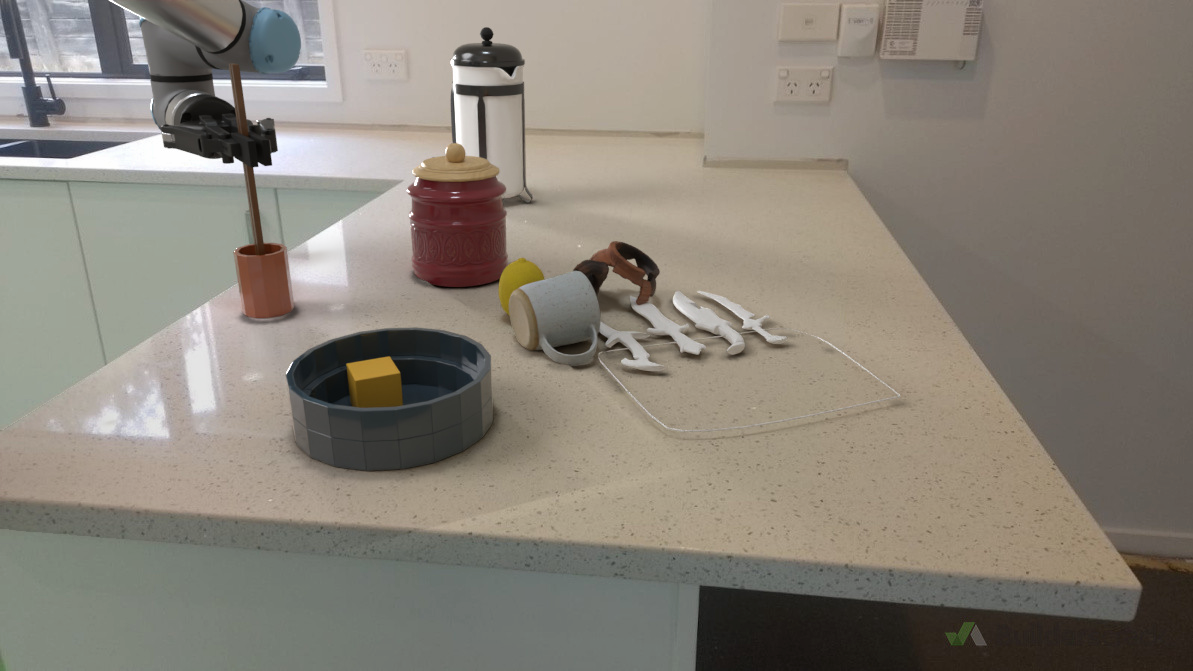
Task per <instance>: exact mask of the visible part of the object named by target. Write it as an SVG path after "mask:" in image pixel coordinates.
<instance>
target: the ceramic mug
mask: <svg viewBox="0 0 1193 671" xmlns="http://www.w3.org/2000/svg"><path fill="white" fill-rule="evenodd" d="M508 316H509V321H510V326H511V328H512V332H513V333H514V336H515V338H516V340H517V341H518V343H519V344H520V346H521V347H523V348H524V349H526V350H528V351H531V352H532V351H543V352H544V354H545V355H546V356H547V357H548V358H550V359H551V360H552V361H553V362H555V363H558V364H562V365H568V366H572V367H573V366H579V365H583V364H586V363H588V362H589V361H591V360H592V359H593V357H594V356H595V354H596V352H597V347H598V340H599V339H598V338H599V337H598V335H599V334H600V332H599V330H600V321H601V311H600V304H599V301H598V295H597V296H596V293H595V291H594V289H593V286H592V285H591V283H590V281H589V280H588V278H587V277H586V276H585V275H584V274H583V273H582V272H580V271H573V270H571V271H568V272H566V273H562V274H559V275H555V276H552V277H549V278H545V280H541V281H537V282H533V283H529V284H526V285H524V286H522V287H520V288H518V289H516V290H514V291H513V292H512V294H511V296H510V299H509V315H508ZM590 340H591V346H590V347H589V349H587V351H585V352H583V353H576V354H567V353H562V352H560V351H558V350H556V349H555V348H557V347H561V346H568V345H573V344H577V343H581V342H582V343H583V342H587V341H590Z"/></svg>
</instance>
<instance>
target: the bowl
mask: <svg viewBox="0 0 1193 671" xmlns="http://www.w3.org/2000/svg"><path fill="white" fill-rule="evenodd" d="M383 357H390V358H391V359H392V361H393V362H394V364H395V365H396V367H397V368H398V370H399V372H400V374H401V386H402V398H403V406H397V407H373V408H359V407H353V406H352V404H351V402H350V394H349V385H348V375H347V366H346V364H347V363H353V362H359V361H365V360H371V359H377V358H383ZM492 370H493V369H492V355H491V354H490V353H489V351H488V350H487V349H486V347H485V346H484V345H483V343H481V342H479V341H476V340H475V339H473V338H470V337H469V336H467V335H464V334H461V333H456V332H452V331H448V330H446V329H439V328H438V329H437V328H429V327H427V328H426V327H415V326H414V327H386V328H385V327H383V328H378V329H370V330H363V331H358V332H354V333H349V334H346V335H342V336H339V337H335V338H331V339H329V340H326V341H324V342H322V343H319V344H317V345H315V346H313V347H310V348H308V349H307V350H306V351H304V352H303V353H301V354H300V355H299V356H298V357H296V358H295V359H293V360H292V362H291V364H290V365H289V367H288V369H287V371H286V372H285V381H286V389H287V396H288V402H289V411H290V418H291V425H292V426H291V427H292V431H293V435H294V440H295V444H296V446H297V447H298V448H299V449H301V450H302V452H304V453H305V454H306V455H307V456H308V457H310V458H311V459H313V460H316V461H319V462H321V463H324V464H327V465H329V466H332V467H335V468H341V469H348V470H357V471H362V472H363V471H364V472H371V471H372V472H373V471H396V470H407V469H410V468H416V467H420V466H426V465H430V464H435V463H438V462H439V461H442V460H444V459H447V458H450V457H452V456H455V455H458V454H460V453H462V452H464V451H465V450H467V449H469V448H470V447H472V446H473V445H474V444H476V443H477V442H479V441H480V440H481V439H483V438H484V436H485V435H486V433H487V432H488V430H489V429H490V427H491V426H492V424H494V423H493V422H494V401H493V400H494V398H493V373H492V372H493V371H492Z"/></svg>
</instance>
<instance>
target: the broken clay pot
mask: <svg viewBox="0 0 1193 671" xmlns="http://www.w3.org/2000/svg"><path fill="white" fill-rule="evenodd" d="M631 260H634V261H635V263H636V265H635V264H633V263H632V262H630V261H631ZM610 267H611V268H612V270H611V271H612V273H614V274H616V275H618V276H620V277H621V278H622V279H625V280H627V281H630V282H631V283H632V284H634V285H635V286H638V287H639V294H638V296H637V297H636V298H637V300H636V304H637V305H641V304H644V303H647V302H648V303H649V300H650V298H652V297H653V296H654V295H655V294H656V291H657V277H658V276H659V275H660V273H661V271H660V269H659V267H658V265H657V263H656V262H655V261H654V259H652V257H650V256H649V255H648V254H646V253H645V252H644V251H643V250H641V249H639V248H637V247H636V246H634V245H632V244H630V243H627V242H623V241H617V240H614V241H611V242H610V243H609V245H608V247H606V248H603V249H600V250H598V251H597V252H595V253H594V254H593V255H592V256H591V257H590V258H589V259H584V260H582V261H581V262H579V263H578V264H576V266H575V267H574V268H573V269H572V271H580V272H582V273H583V274H584V275H585V276H586V277H587V278H588V280H589V281H590V283H591V285H592V286H593V289H594V291H595V293H596V296H597V297H598V294H599V292H600V289H601V287H602V285H603V283H604V282H605V281H606V280H607V277H608V275H609V272H610ZM645 277H646V279H645Z"/></svg>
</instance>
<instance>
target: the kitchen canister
mask: <svg viewBox="0 0 1193 671" xmlns="http://www.w3.org/2000/svg"><path fill="white" fill-rule="evenodd" d="M499 172H500V170H499V168H498V167H496V166H494V165H492V164H491V163H489V161H488V160H487V159H484V158H481V157H475V156H466V153H465V149H464V147H463V146H462V145H461V144H458V143H453V142H452V143H449V144H448V145H447V146H446V147H445V151H444V155H442V156H433V157H429V158H426V159H424V160H423V161H422V162H421V163H420V164H419V165H417V166H416V167H414V168H413V169H412V170H411V174H412V175H413V176H414V177H415V178H414V179H415V180H414V182H412V183H411V184H409V185H408V186H407V188H406V194H408V195H409V196H410V197H411V209H410V210H409V212H408V218H409V221H410V237H411V253H412V255H411V268H412V269H413V272H414V273H413V274H414V275H415V277H417V278H419V280H423V281H425V282H427V283H428V284H430V285H432V286H438V287H447V288H465V287H474V286H475V287H476V286H481V285H485V284H490V283H494V282H496V281H498V280H500V277H501V275H502V272H503V271H504V269H505V268H506V267H507V266H508V265H509V260H508V259H509V253H508V250H507V220H506V219H507V215H508V211H507V210H506V208H505V207H504V199H502V196H503V194H504V193H505V192H506V186H505V185H504V184H503V183H501V182H500V181H498V179H497V177H496V175H498V174H499Z"/></svg>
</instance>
